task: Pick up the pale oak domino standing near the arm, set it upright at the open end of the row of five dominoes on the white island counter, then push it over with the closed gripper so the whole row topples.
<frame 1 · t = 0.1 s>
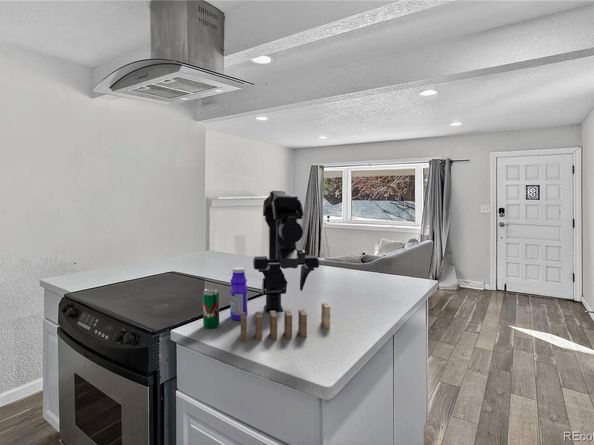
hand: (285, 291, 104), 15 cm above the table, fingers open, 9 cm apart
oak domino: (325, 325, 117), on the table
bottle: (238, 318, 123), on the table
domino 3: (273, 335, 107), on the table
domino 4: (288, 334, 108), on the table
domino 5: (302, 334, 109), on the table
domino 1: (243, 337, 106), on the table
soda can: (211, 326, 115), on the table
domino 2: (258, 336, 107), on the table
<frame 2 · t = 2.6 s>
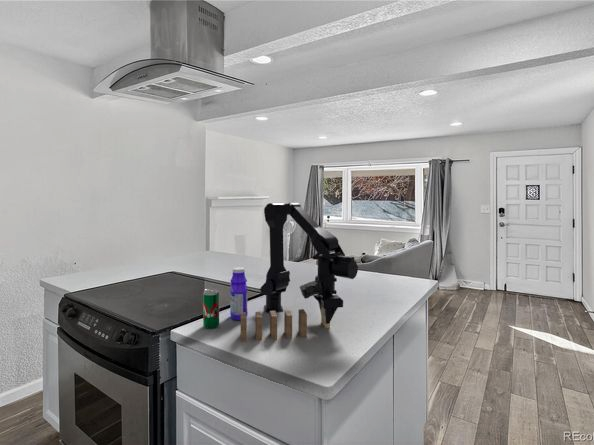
hand: (325, 320, 116), 2 cm above the table, fingers closed on oak domino, 5 cm apart
oak domino: (325, 325, 117), on the table, touching gripper
everything else where it was.
when the fingers open (2 cm above the table, at t = 6.4 s): oak domino stays where it is, on the table.
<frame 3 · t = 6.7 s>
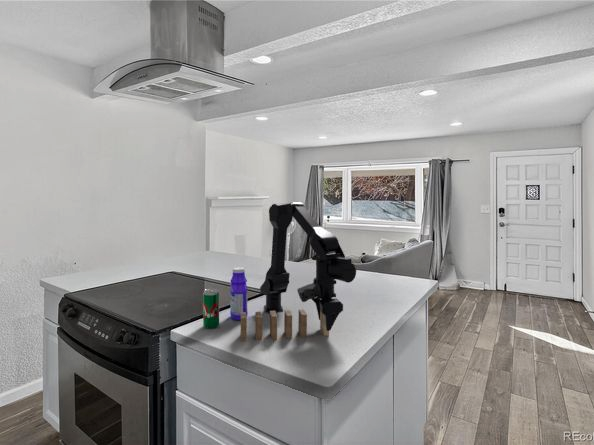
hand: (324, 325, 110), 2 cm above the table, fingers open, 9 cm apart
oak domino: (324, 332, 110), on the table
everything else where it was.
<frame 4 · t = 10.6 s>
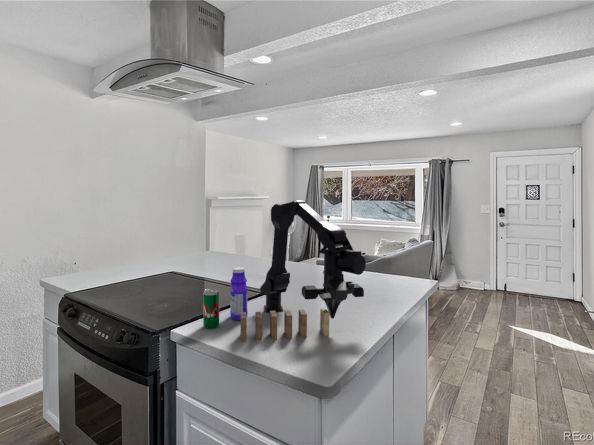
hand: (332, 318, 111), 4 cm above the table, fingers closed
oak domino: (324, 332, 110), on the table, touching gripper
everything else where it was.
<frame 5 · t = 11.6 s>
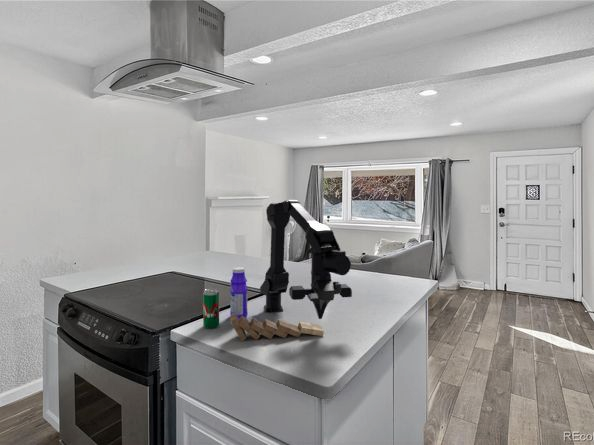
hand: (319, 318, 110), 4 cm above the table, fingers closed
oak domino: (321, 330, 110), point 1 cm above the table, tilted 77°, touching domino 5
domino 3: (271, 333, 107), point 1 cm above the table, tilted 57°
domino 4: (285, 332, 108), point 1 cm above the table, tilted 63°, touching domino 5
domino 5: (298, 332, 109), point 1 cm above the table, tilted 65°, touching domino 4, oak domino
domino 1: (243, 336, 106), on the table, tilted 26°
domino 2: (257, 335, 106), point 1 cm above the table, tilted 46°
everything else where it was.
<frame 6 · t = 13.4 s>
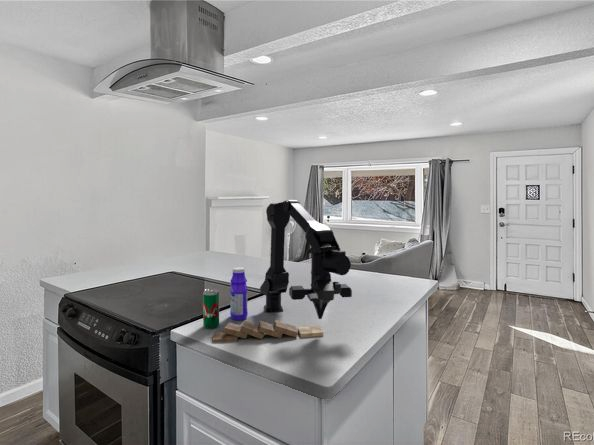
hand: (319, 318, 110), 4 cm above the table, fingers closed
oak domino: (321, 331, 110), on the table, tilted 90°
domino 3: (263, 333, 107), point 1 cm above the table, tilted 68°, touching domino 4
domino 4: (281, 332, 108), point 1 cm above the table, tilted 70°, touching domino 3, domino 5
domino 5: (295, 331, 109), point 1 cm above the table, tilted 70°, touching domino 4
domino 1: (237, 337, 106), on the table, tilted 90°
domino 2: (248, 333, 107), point 1 cm above the table, tilted 77°
everything else where it was.
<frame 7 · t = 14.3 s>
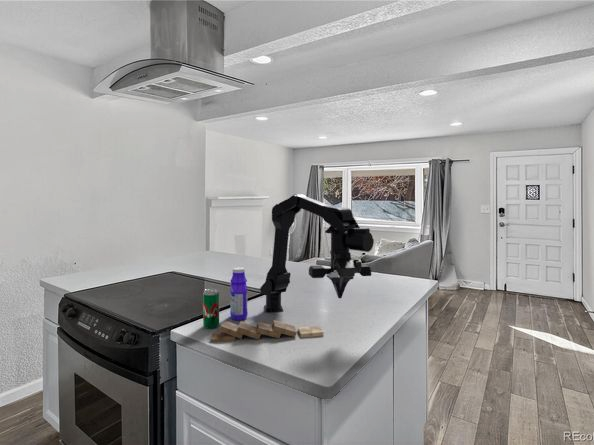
hand: (339, 298, 110), 11 cm above the table, fingers closed
domino 3: (260, 334, 107), point 1 cm above the table, tilted 70°, touching domino 2
domino 4: (279, 332, 108), point 1 cm above the table, tilted 72°, touching domino 5
domino 1: (235, 337, 106), on the table, tilted 89°, touching domino 2
domino 2: (243, 333, 107), point 1 cm above the table, tilted 72°, touching domino 1, domino 3
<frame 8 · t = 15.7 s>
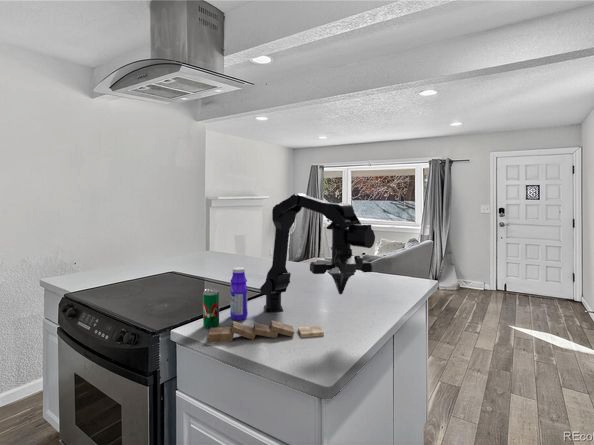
hand: (340, 294, 110), 12 cm above the table, fingers closed
domino 3: (253, 334, 107), point 1 cm above the table, tilted 65°
domino 2: (233, 332, 105), point 2 cm above the table, tilted 90°, touching domino 1
at the end: domino 1 tilted 90°; oak domino tilted 90° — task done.
